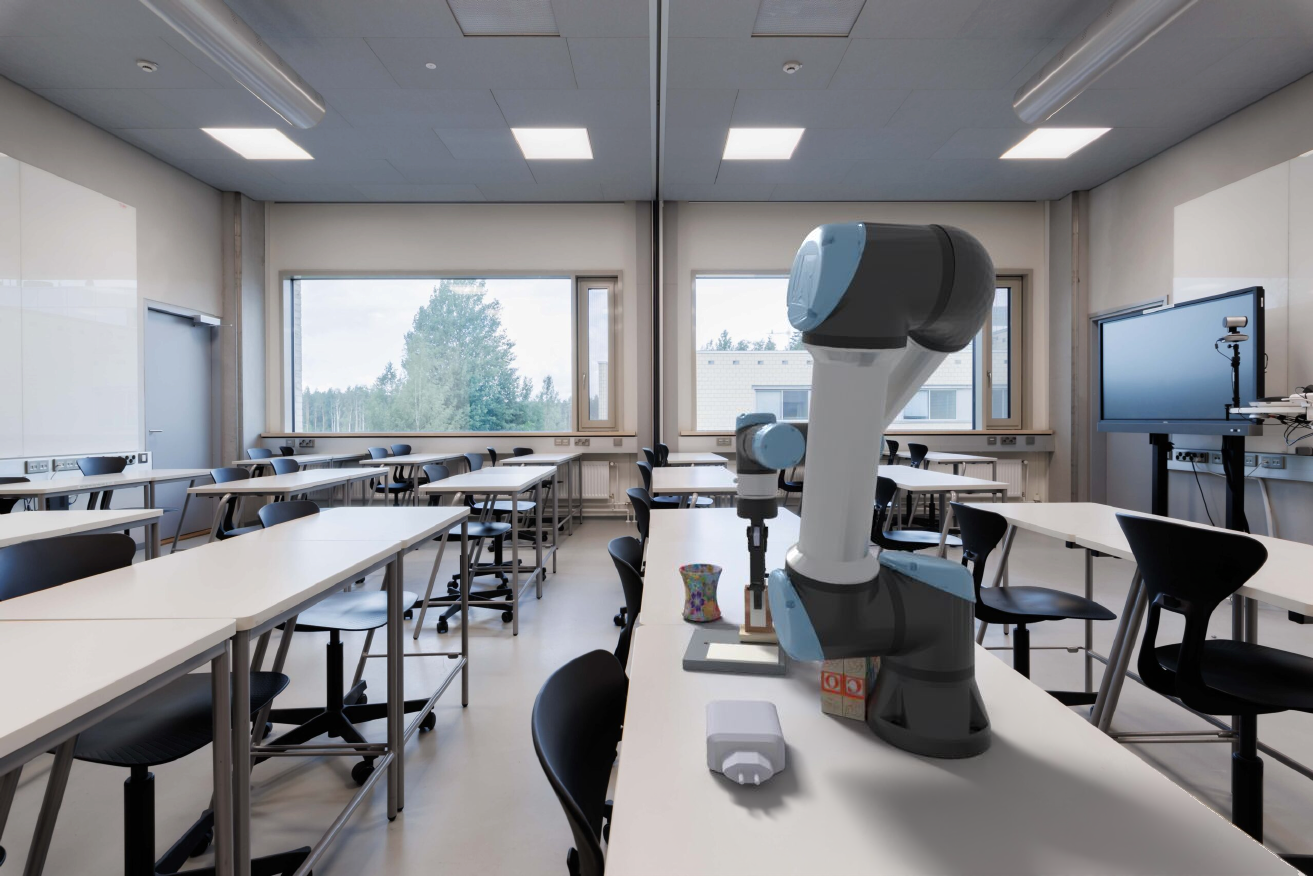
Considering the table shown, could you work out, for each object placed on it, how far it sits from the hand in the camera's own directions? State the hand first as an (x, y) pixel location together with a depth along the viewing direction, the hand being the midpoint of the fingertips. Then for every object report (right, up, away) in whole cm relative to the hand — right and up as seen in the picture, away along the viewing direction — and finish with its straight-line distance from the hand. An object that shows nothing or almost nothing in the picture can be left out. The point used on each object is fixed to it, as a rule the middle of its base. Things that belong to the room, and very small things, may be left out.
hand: (758, 619), depth 113 cm
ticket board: (-5, -5, -3) cm, 8 cm away
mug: (-9, -5, +19) cm, 22 cm away
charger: (-8, -6, -39) cm, 41 cm away
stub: (0, -3, 0) cm, 3 cm away
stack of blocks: (+13, -6, -19) cm, 23 cm away
